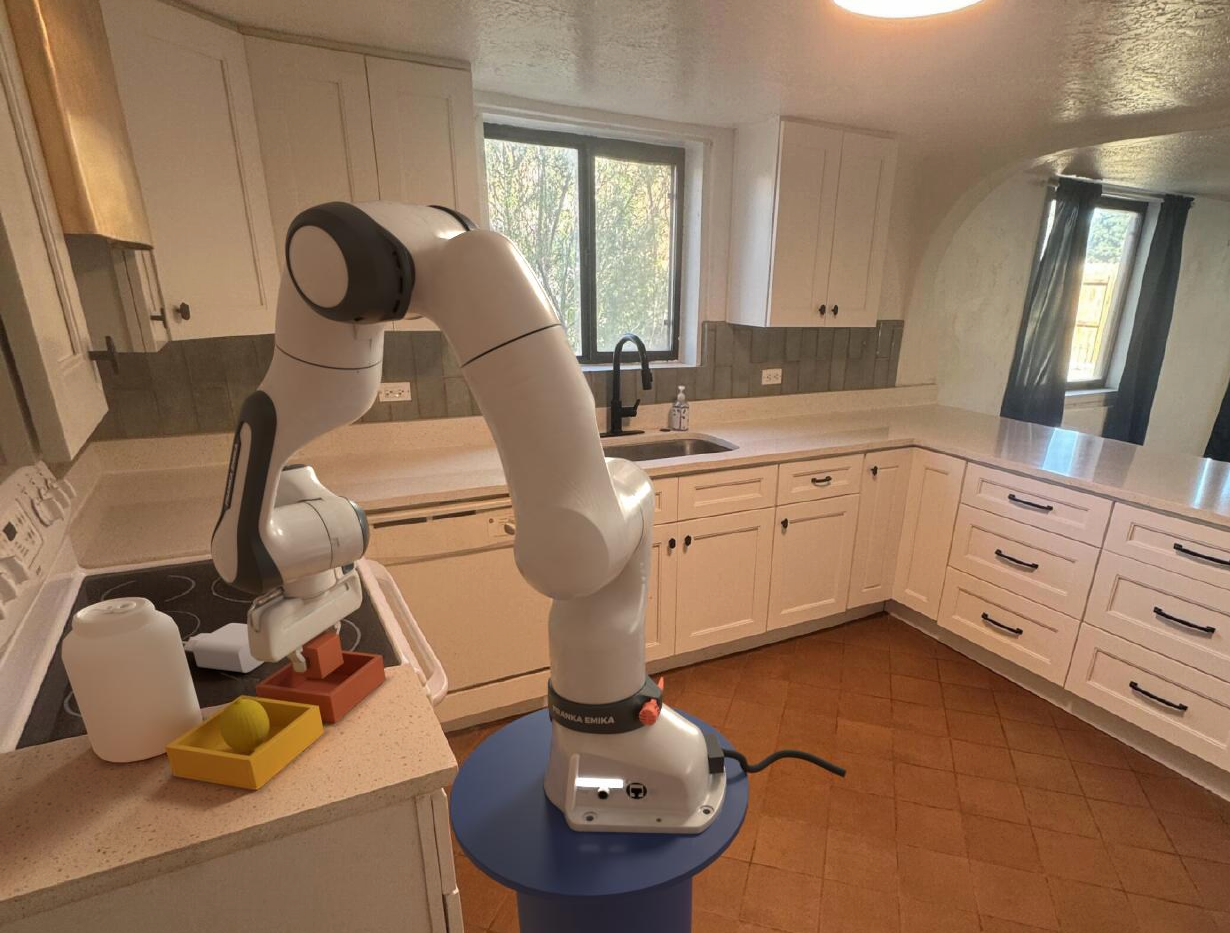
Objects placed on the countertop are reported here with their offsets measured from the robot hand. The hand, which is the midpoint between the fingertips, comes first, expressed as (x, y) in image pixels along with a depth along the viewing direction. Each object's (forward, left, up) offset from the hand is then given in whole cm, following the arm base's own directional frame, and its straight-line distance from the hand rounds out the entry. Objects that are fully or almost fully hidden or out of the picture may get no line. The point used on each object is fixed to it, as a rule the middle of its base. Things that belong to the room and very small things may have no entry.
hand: (317, 659), depth 105 cm
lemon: (0, +15, -6) cm, 16 cm away
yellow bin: (0, +15, -6) cm, 16 cm away
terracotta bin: (0, 0, -6) cm, 6 cm away
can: (+16, +15, -7) cm, 23 cm away
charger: (+24, -7, -7) cm, 26 cm away
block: (0, 0, -2) cm, 2 cm away
